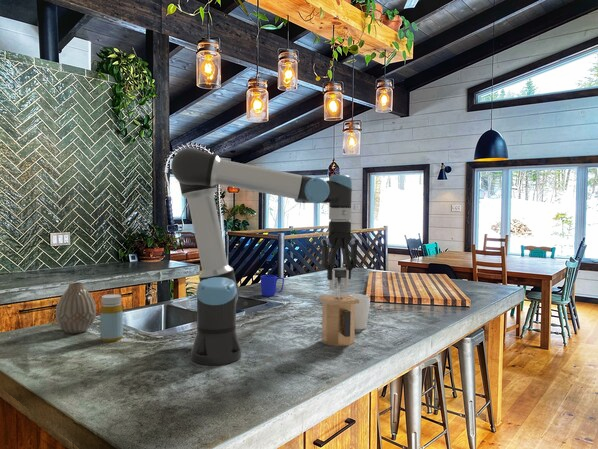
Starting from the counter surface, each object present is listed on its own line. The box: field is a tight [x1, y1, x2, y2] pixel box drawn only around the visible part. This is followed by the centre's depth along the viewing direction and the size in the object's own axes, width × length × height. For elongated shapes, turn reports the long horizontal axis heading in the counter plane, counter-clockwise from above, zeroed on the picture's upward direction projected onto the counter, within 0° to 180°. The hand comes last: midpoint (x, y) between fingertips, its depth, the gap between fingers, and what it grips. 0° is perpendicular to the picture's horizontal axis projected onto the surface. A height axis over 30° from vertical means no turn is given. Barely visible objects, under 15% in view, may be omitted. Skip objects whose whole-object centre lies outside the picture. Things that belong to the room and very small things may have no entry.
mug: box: [259, 274, 285, 297], centre depth 227 cm, size 8×12×10 cm
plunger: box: [333, 268, 346, 299], centre depth 152 cm, size 8×8×20 cm
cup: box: [348, 293, 371, 331], centre depth 170 cm, size 9×9×12 cm
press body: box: [318, 293, 359, 347], centre depth 151 cm, size 10×13×15 cm
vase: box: [55, 281, 97, 334], centre depth 161 cm, size 13×13×18 cm
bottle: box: [99, 293, 124, 343], centre depth 151 cm, size 7×7×15 cm
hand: (338, 288), depth 152 cm, fingers closed on plunger, 4 cm apart
